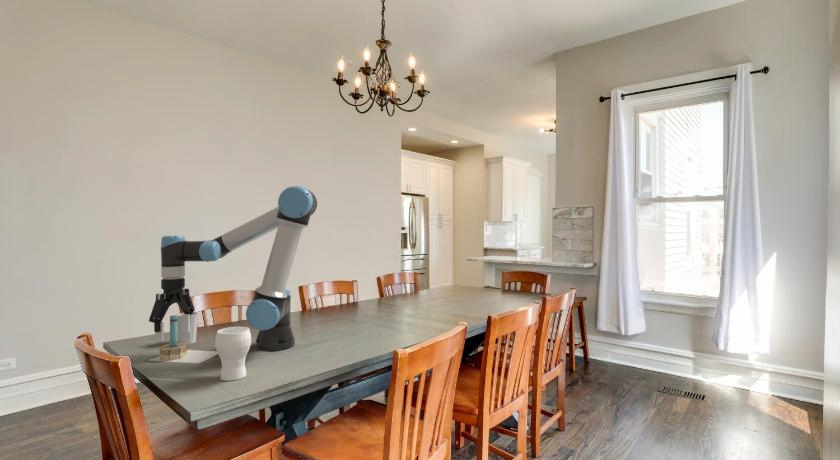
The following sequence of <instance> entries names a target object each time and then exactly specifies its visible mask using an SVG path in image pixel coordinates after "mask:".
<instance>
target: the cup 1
mask: <svg viewBox="0 0 840 460" xmlns="http://www.w3.org/2000/svg"><path fill="white" fill-rule="evenodd" d="M182 314H184V313H183V312H182V313H181V312H180V313H177V314H176V315H177V316H178V321H177V341H178V343H185V344H186V345H189V344H190V345H191V344H194V343H196V342H197V333H198V332H197V331H198V330H197V329H198V319H199V312H196V311H193V314H190V332H182Z"/></svg>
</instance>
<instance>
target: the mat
mask: <svg viewBox="0 0 840 460" xmlns="http://www.w3.org/2000/svg"><path fill="white" fill-rule="evenodd" d="M215 356H219V355H218V353H217V350H216V351H215V350H199V349H198V350H196V349H187V356H186V357H184V358H181V359H177V360H171V361H170V360H169V361H165V360H160V355H158V356H156V357H153V358H151V359H148V362H150V361H151V362H167V363H185V364H201V363H203V362H205V361H207V360H209V359H212V358H213V357H215Z"/></svg>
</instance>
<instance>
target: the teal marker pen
mask: <svg viewBox="0 0 840 460" xmlns="http://www.w3.org/2000/svg"><path fill="white" fill-rule="evenodd" d="M177 321H178V316H177V314H174V315H170V316H169V344H170V347H171V348H172V347H177V343H178V328H177Z"/></svg>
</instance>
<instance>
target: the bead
mask: <svg viewBox="0 0 840 460" xmlns="http://www.w3.org/2000/svg"><path fill="white" fill-rule="evenodd" d="M187 345H188V344H185V343H179V342H177V347H172V348H171V347H170V343H167V344H164V345H162V346H159V356H160V360H165V361H169V360H170V361H171V360H177V359H181V358H184V357H186V356H187V350H188V347H187Z"/></svg>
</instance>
